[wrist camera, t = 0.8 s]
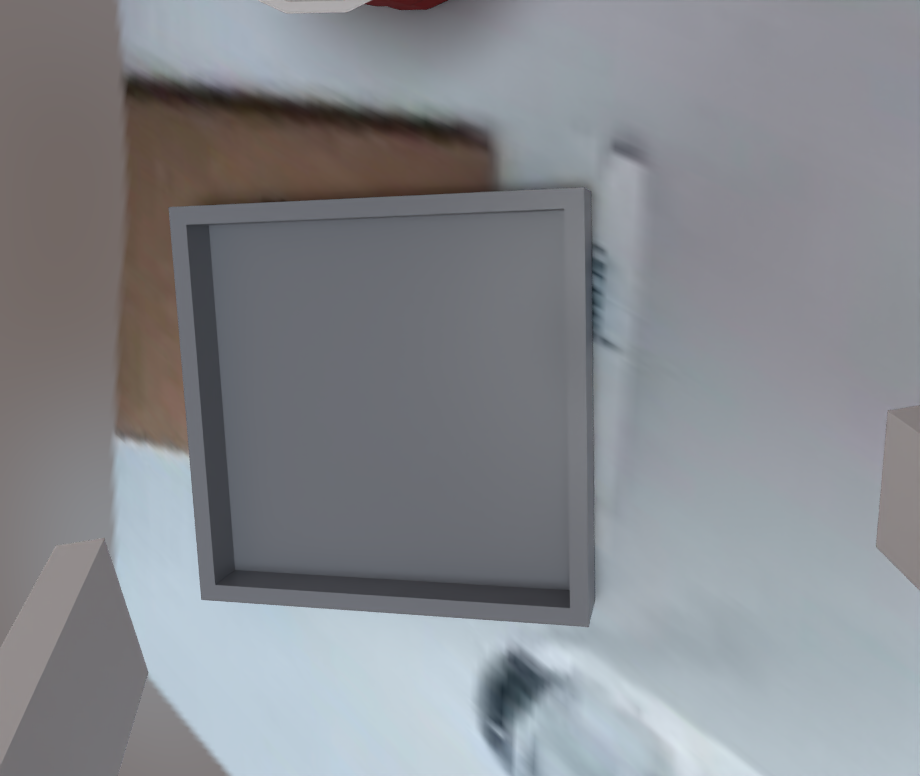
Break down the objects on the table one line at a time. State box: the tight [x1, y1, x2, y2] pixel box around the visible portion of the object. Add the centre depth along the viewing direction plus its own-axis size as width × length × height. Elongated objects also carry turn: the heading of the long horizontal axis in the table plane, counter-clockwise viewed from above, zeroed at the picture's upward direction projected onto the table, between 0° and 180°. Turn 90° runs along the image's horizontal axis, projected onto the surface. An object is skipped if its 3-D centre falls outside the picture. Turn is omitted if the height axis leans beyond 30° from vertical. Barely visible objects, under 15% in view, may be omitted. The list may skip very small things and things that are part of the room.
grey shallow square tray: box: [169, 187, 595, 627], centre depth 40 cm, size 19×19×3 cm
